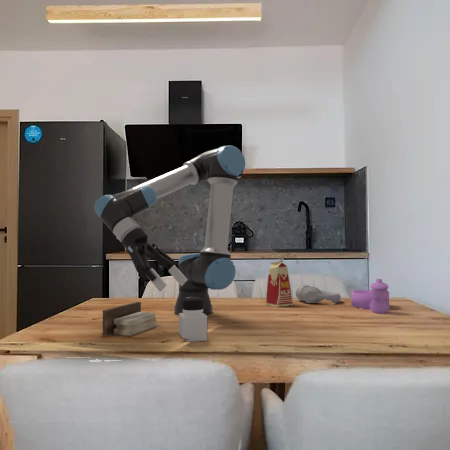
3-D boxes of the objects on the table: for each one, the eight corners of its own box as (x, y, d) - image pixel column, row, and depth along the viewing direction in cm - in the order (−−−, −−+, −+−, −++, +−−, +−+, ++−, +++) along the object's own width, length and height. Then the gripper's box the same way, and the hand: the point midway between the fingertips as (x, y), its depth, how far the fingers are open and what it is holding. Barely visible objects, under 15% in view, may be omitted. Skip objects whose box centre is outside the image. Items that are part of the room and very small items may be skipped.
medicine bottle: (207, 341, 116) (207, 298, 117) (183, 342, 114) (183, 299, 115) (202, 335, 123) (202, 295, 124) (178, 337, 121) (178, 296, 122)
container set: (347, 304, 184) (347, 274, 184) (382, 304, 182) (382, 274, 183) (362, 314, 159) (361, 280, 159) (402, 314, 158) (402, 280, 158)
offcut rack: (102, 338, 119) (102, 310, 120) (136, 326, 136) (136, 301, 136) (130, 341, 116) (130, 312, 116) (161, 328, 133) (161, 303, 133)
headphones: (305, 304, 178) (346, 309, 183) (307, 286, 179) (348, 291, 183) (289, 298, 196) (327, 303, 201) (291, 282, 197) (329, 287, 201)
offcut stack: (113, 333, 120) (114, 319, 120) (140, 324, 133) (140, 311, 134) (131, 335, 118) (131, 320, 118) (156, 325, 131) (156, 312, 131)
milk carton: (293, 305, 180) (293, 259, 181) (277, 307, 175) (277, 260, 175) (279, 302, 187) (279, 259, 188) (264, 304, 182) (263, 259, 183)
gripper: (145, 243, 140) (184, 289, 134) (98, 244, 116) (144, 300, 111) (158, 227, 138) (199, 273, 132) (114, 225, 115) (161, 280, 109)
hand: (174, 285), depth 121 cm, fingers open, 13 cm apart
